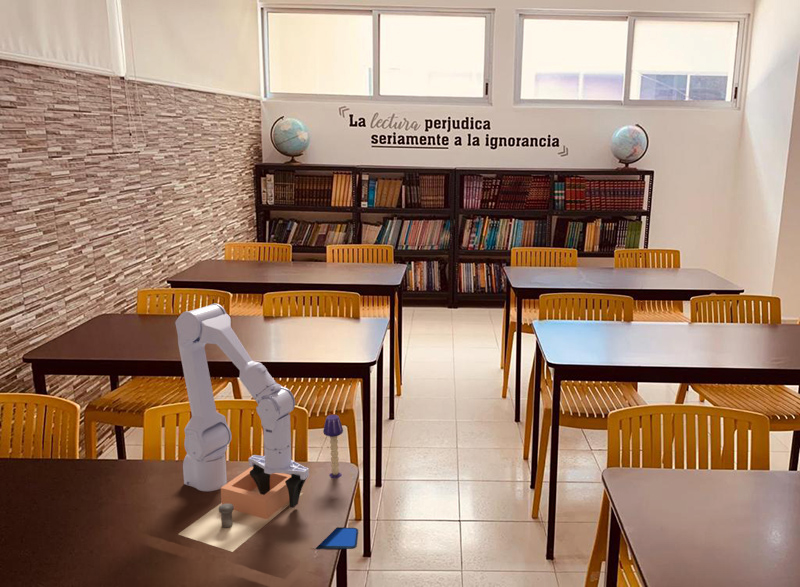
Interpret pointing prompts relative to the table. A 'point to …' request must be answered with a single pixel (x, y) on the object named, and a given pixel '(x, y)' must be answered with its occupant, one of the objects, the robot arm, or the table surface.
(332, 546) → the smartphone
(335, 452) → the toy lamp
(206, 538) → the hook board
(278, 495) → the orange square frame
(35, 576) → the table surface
